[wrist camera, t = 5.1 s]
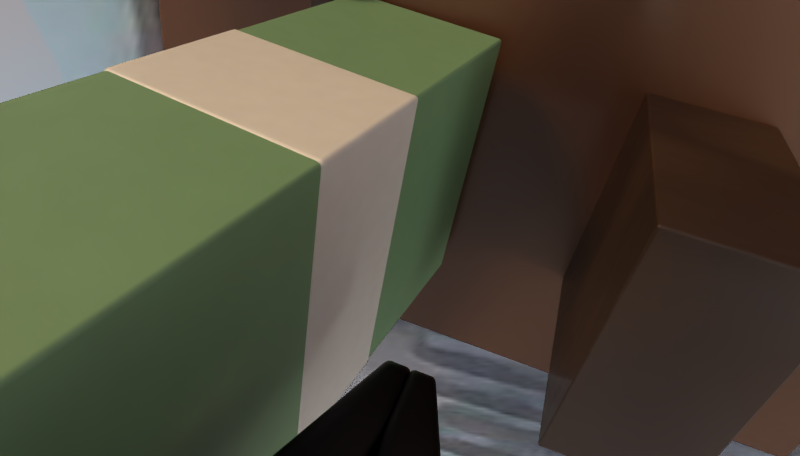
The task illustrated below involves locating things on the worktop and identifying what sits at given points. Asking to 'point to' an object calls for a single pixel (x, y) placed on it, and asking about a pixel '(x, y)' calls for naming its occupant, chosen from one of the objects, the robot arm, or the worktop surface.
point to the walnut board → (566, 142)
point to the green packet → (226, 228)
